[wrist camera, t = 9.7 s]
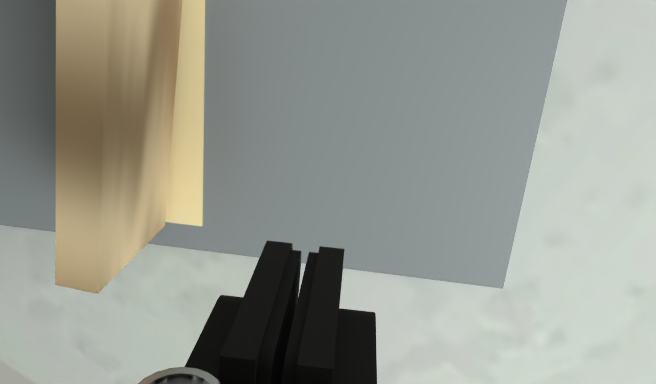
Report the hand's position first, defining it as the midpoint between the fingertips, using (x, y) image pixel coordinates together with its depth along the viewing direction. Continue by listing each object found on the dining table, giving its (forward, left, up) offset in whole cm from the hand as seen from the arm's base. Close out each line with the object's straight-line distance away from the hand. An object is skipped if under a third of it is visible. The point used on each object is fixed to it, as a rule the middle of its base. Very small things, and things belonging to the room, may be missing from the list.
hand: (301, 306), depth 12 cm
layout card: (-5, +4, -8) cm, 10 cm away
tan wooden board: (-6, +4, -7) cm, 10 cm away
